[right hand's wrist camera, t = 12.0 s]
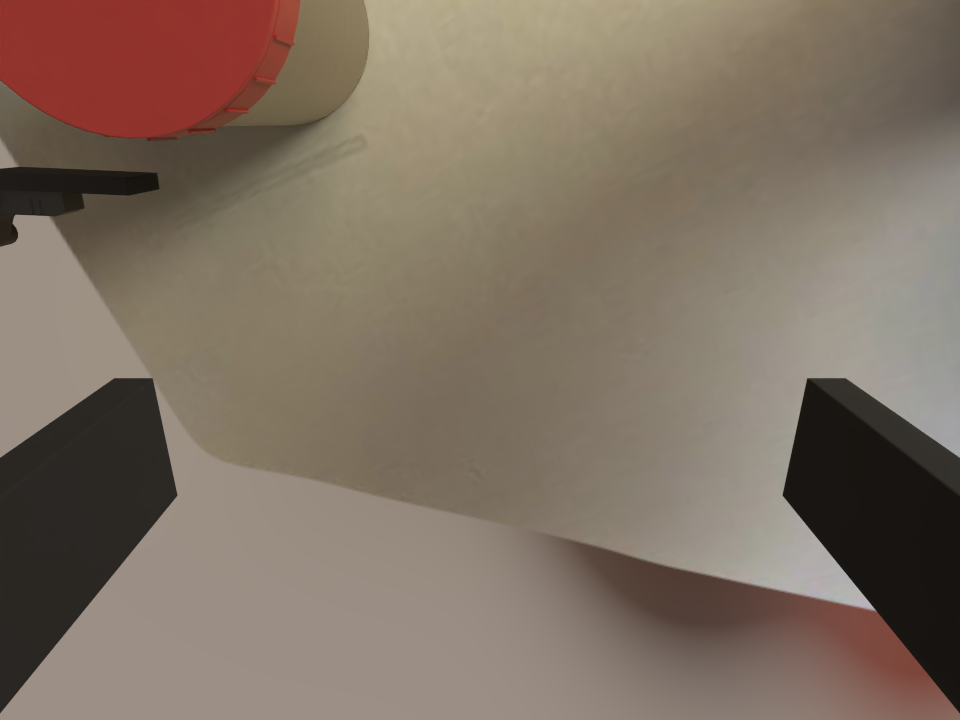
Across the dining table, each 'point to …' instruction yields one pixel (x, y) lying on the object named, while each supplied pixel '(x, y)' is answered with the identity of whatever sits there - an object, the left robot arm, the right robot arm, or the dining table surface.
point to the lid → (145, 61)
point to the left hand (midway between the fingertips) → (118, 15)
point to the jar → (316, 65)
